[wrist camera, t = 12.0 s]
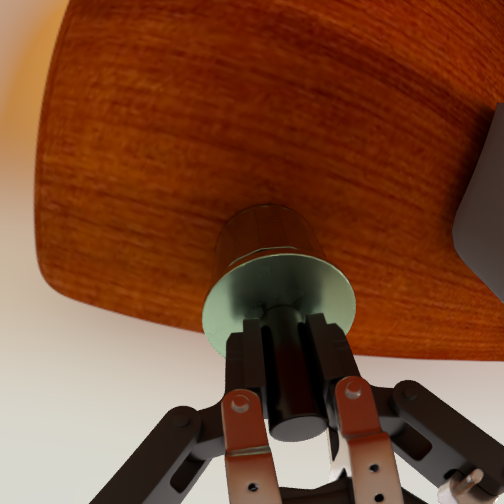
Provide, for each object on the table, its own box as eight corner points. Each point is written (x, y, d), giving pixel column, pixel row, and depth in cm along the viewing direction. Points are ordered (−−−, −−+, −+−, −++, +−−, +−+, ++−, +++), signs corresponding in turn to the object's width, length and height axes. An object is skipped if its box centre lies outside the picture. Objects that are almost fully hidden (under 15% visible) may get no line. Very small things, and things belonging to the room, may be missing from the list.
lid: (214, 360, 16) (210, 470, 10) (192, 247, 13) (164, 373, 7) (340, 348, 16) (373, 450, 10) (356, 235, 13) (430, 342, 7)
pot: (222, 294, 21) (219, 353, 16) (210, 208, 18) (201, 253, 13) (313, 287, 21) (332, 342, 16) (316, 200, 18) (345, 242, 13)
